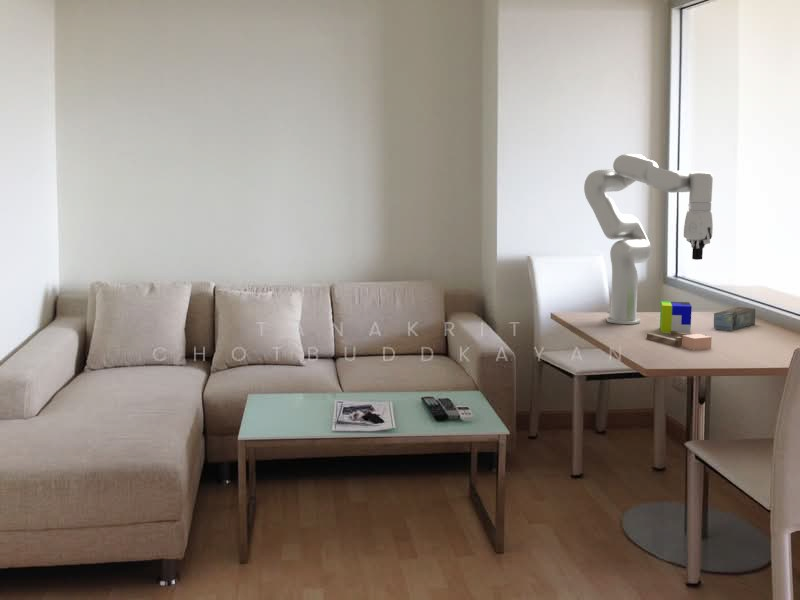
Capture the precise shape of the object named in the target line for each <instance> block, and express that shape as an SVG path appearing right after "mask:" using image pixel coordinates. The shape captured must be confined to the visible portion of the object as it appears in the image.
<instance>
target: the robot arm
mask: <svg viewBox="0 0 800 600" xmlns="http://www.w3.org/2000/svg"><path fill="white" fill-rule="evenodd" d="M612 165H613V166H612V167H613V169H597V170H594V171H592V172H590V173H589V174H588V175H587V176H586V179H585V181H584V185H583V186H584V187H583V189H584V190H583V191H584V195H585V199H586V201H587V203H588V204H589V206H590V207H591V209H592V211H593V213H594V215H595V218H596V220H597V221H598V223H599V226H600V228H601V230H602V232H603V234H604V236H605V237H606V238H607V239H609V240H617V241H616V242H614V243H613V244H612V245H611V247H610V256H609V257H610V263H611V298H610V299H611V300H610V308H609V309H606V311H605V313H606V314H608V315H609V316H607V318H606V322H607V323H611V324H615V325H616V324H617V325H636V324H640V323H641V318H639V317H637V305H638V304H637V303H638V282H639V281H638V280H639V279H638V270H637V268H636V264H641V263H645V262H648V260H649V259H650V258H651V256H652V252H653V251H652V245H651V242H650V240H649V239H648V238H649V237H648V236H647V235H646V232H645V230H644V228H643V225H642V224H641V222H640V221H639V219H638V218H637V217H636V216H634V215H633V214H630V213H621V212H620V211H619V209H618V207H617V206H616V204H615V201H614V200H613V199H612V198H611V197H610V196H609V195H608V194H607V192H608V193H610V192H612V193H613V192H620V191H622V190H624V189H626V188H628V187H629V186H630V185H633V184H634V183H636V182H640V183H643V184H646V185H647V186H649V187H650V188H653V189H655V190H660V191H663V192H667V193H689V195H688V196H689V198H688V200H689V201H688V210H686V214H685V219H684V223H683V224H684V225H683V238H685V240H686V241H687V243H690V245H691V248H692V251H691V253H692V255H691V256H692V257H691V259H692V260H695V261H696V260H698V261H699V260H703V251H704V249H705V246H706V245H708V244H709V245H710V243H711V239H712V237H713V225H714V224H713V214H712V198H713V177H714V176H713V174H712V173H711V172H707V171H690V170H674V171H673V170H668V169H665V168H661V167H659V165H658V163H657V162H656V161H654V160H652V159H651V160H650V159H647V157H645V156H643V154H638V153H636V154H635V153H634V154H632V153H630V154H628V153H627V154H626V153H624V154H620V155H618V156H617V157H616V158H615V159H614V161H613V164H612Z"/></svg>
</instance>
